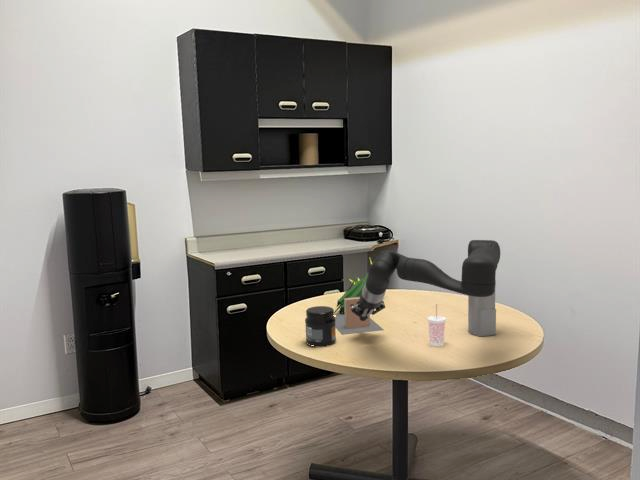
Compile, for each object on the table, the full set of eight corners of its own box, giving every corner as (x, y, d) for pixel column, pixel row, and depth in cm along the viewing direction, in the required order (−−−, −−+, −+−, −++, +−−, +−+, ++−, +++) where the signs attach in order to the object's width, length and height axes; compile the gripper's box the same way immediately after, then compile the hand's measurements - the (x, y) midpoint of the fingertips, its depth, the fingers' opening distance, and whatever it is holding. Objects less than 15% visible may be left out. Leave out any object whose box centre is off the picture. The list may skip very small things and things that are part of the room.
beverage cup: (424, 342, 202) (423, 302, 200) (439, 339, 204) (439, 300, 202) (433, 348, 197) (433, 307, 194) (449, 345, 199) (449, 304, 196)
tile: (369, 326, 221) (369, 297, 219) (346, 328, 219) (345, 300, 217) (367, 324, 223) (367, 296, 222) (344, 326, 221) (344, 298, 220)
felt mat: (384, 331, 216) (384, 330, 216) (342, 335, 212) (342, 334, 212) (362, 312, 241) (362, 311, 241) (324, 316, 237) (324, 315, 237)
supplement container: (339, 339, 209) (338, 306, 207) (331, 349, 199) (330, 314, 197) (310, 337, 212) (309, 305, 210) (302, 347, 202) (300, 313, 200)
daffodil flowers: (318, 313, 244) (356, 275, 271) (348, 333, 240) (383, 293, 267) (331, 284, 234) (369, 248, 261) (362, 304, 230) (397, 265, 257)
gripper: (356, 304, 195) (347, 329, 209) (394, 300, 198) (382, 325, 212) (351, 285, 200) (342, 311, 213) (388, 282, 203) (377, 307, 216)
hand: (362, 318), depth 213 cm, fingers closed
